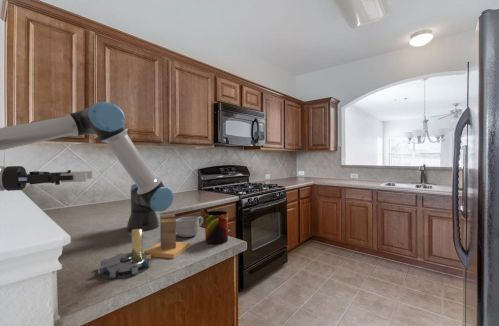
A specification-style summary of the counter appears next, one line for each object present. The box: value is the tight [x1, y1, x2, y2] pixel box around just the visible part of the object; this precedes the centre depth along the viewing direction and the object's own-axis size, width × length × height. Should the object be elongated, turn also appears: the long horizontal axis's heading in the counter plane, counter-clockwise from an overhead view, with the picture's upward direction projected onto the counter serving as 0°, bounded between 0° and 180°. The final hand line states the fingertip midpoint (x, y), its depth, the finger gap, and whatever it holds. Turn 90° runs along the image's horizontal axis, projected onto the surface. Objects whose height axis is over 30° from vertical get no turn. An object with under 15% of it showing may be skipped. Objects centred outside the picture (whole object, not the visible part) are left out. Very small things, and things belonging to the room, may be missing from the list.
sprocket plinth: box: [99, 265, 151, 280], centre depth 75 cm, size 14×14×1 cm
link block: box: [159, 213, 177, 250], centre depth 90 cm, size 5×5×12 cm
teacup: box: [176, 215, 204, 238], centre depth 110 cm, size 14×11×8 cm
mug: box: [204, 210, 229, 246], centre depth 103 cm, size 10×14×12 cm
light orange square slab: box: [143, 241, 191, 259], centre depth 90 cm, size 12×12×2 cm
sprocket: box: [97, 228, 152, 277], centre depth 75 cm, size 15×15×12 cm
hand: (89, 175), depth 81 cm, fingers open, 13 cm apart
